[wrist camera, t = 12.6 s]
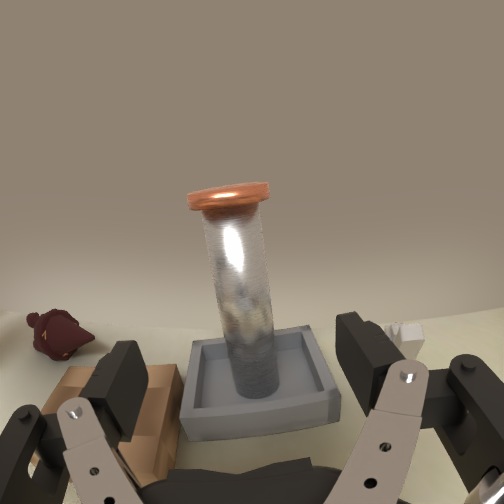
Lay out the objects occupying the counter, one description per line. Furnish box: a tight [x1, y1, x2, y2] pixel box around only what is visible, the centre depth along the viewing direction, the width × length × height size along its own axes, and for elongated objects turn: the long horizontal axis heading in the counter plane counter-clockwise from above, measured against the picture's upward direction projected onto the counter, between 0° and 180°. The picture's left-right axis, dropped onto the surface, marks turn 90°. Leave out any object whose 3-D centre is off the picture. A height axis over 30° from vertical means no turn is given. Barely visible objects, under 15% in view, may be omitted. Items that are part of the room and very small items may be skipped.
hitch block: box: [30, 364, 184, 487], centre depth 20 cm, size 12×12×4 cm
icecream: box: [26, 309, 95, 360], centre depth 32 cm, size 7×7×15 cm
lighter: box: [384, 322, 425, 360], centre depth 22 cm, size 7×2×8 cm, turn 166°
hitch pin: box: [187, 182, 280, 399], centre depth 23 cm, size 6×6×17 cm
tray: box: [179, 325, 341, 441], centre depth 25 cm, size 12×11×3 cm
